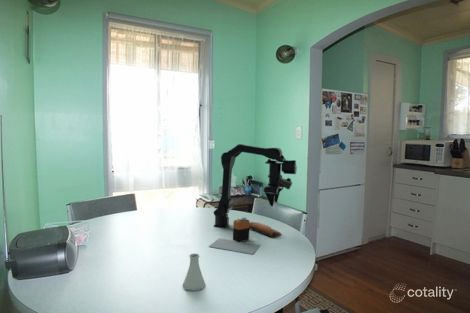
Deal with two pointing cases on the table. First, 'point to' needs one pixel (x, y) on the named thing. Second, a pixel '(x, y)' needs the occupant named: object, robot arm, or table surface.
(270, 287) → the table surface
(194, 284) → the flask
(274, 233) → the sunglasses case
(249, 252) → the rubber mat
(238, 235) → the battery
